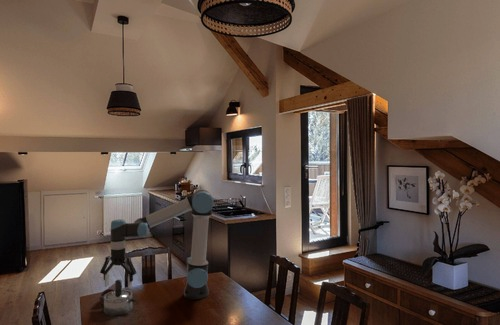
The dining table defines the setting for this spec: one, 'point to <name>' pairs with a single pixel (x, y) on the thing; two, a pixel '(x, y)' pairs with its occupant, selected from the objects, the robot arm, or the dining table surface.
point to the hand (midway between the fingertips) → (118, 286)
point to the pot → (117, 304)
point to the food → (110, 289)
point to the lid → (118, 291)
